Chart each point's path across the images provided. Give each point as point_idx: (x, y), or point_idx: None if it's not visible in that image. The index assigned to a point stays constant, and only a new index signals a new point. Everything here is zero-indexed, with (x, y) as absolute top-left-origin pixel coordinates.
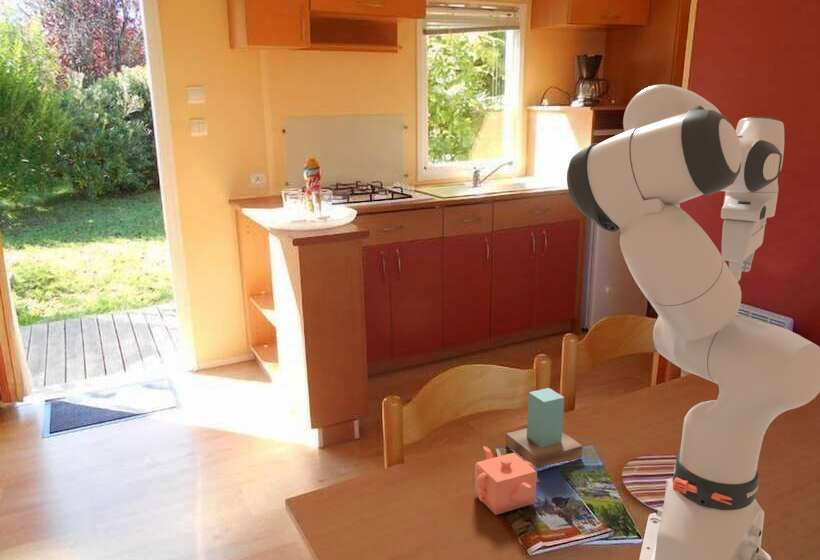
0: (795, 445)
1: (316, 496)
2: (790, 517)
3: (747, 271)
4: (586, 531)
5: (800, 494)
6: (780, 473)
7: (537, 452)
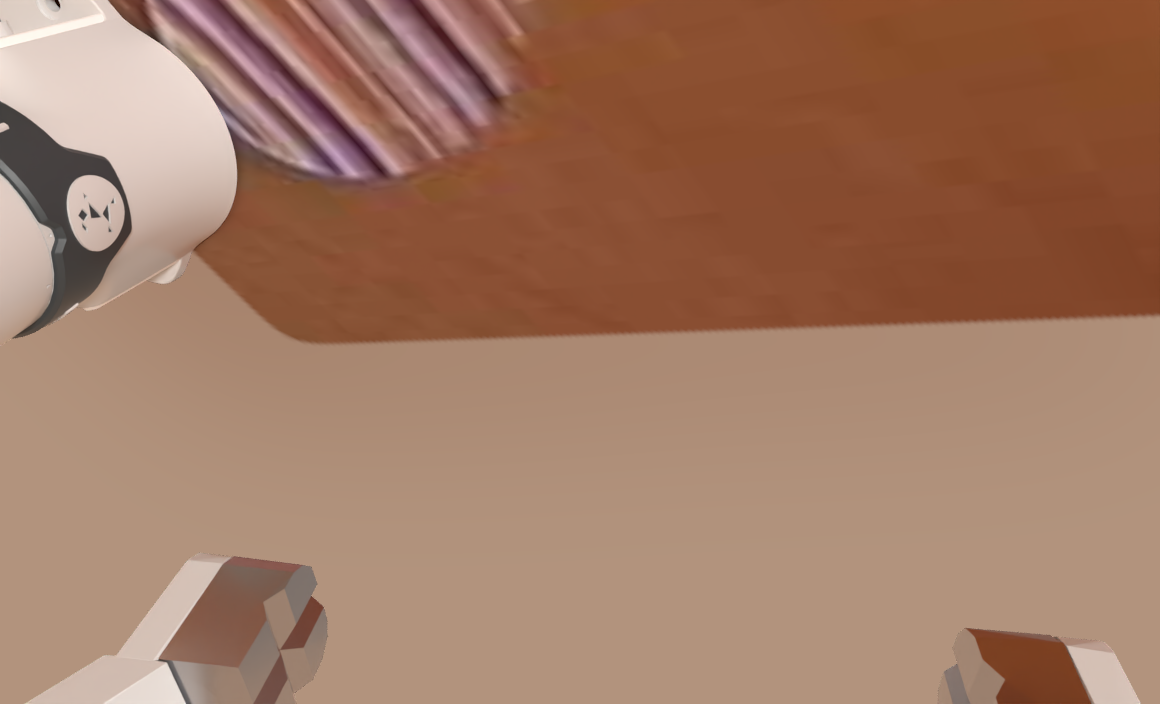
0: (850, 279)
1: None
2: (396, 297)
3: (943, 701)
4: None
5: (529, 310)
6: (617, 257)
7: None
